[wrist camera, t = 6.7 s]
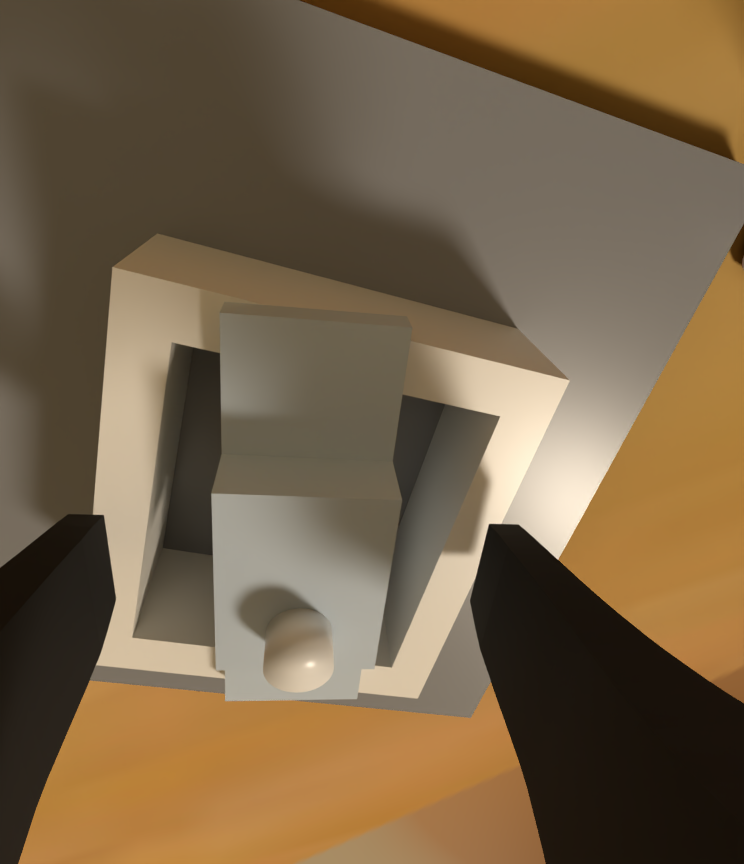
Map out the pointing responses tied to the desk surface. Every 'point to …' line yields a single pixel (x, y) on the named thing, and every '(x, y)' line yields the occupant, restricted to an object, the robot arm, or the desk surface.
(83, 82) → the pocket plate
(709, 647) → the desk surface
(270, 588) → the block
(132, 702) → the desk surface
